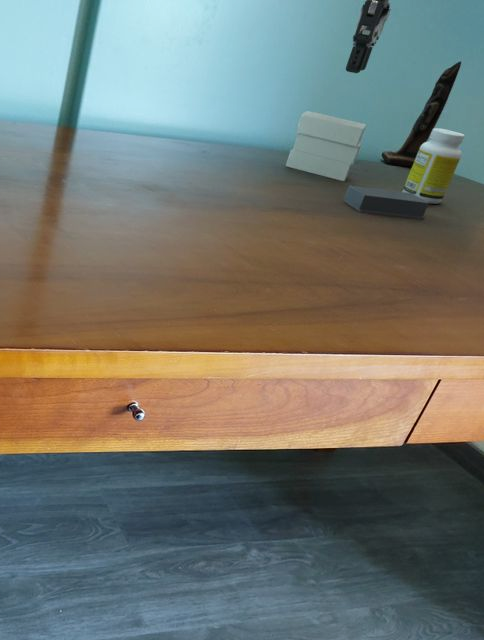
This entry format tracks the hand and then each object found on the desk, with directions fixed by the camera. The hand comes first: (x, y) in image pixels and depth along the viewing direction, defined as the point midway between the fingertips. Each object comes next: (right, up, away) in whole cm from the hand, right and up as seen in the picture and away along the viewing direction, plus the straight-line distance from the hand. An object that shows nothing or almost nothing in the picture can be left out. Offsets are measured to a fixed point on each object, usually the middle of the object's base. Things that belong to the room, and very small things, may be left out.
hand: (354, 70), depth 119 cm
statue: (+21, -9, +26) cm, 34 cm away
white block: (-2, -9, +6) cm, 11 cm away
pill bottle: (+12, -20, +3) cm, 24 cm away
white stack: (-3, -14, +8) cm, 17 cm away
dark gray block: (-3, -27, -14) cm, 30 cm away
